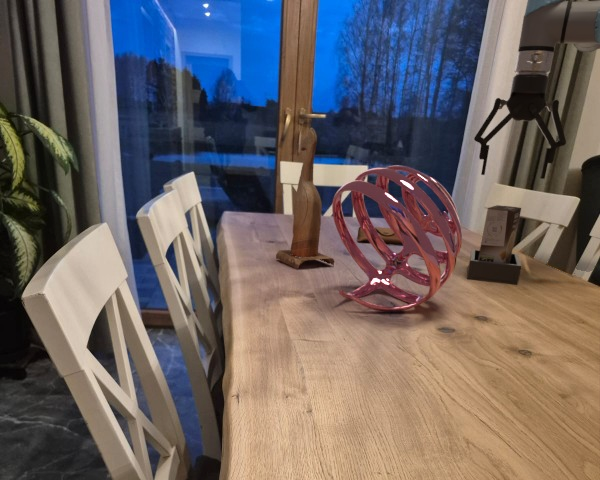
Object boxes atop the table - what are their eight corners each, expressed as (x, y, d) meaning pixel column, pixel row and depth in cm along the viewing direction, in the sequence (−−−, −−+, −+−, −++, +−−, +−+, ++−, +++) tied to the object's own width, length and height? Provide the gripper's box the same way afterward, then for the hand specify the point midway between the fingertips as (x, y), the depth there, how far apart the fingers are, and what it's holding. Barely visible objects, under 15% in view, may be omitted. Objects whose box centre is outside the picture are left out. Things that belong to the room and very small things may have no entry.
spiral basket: (330, 217, 94) (445, 120, 98) (273, 229, 119) (367, 151, 124) (414, 346, 105) (514, 254, 109) (345, 332, 130) (429, 258, 135)
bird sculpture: (309, 257, 156) (316, 127, 142) (335, 266, 148) (345, 129, 134) (274, 260, 151) (278, 125, 136) (299, 270, 142) (306, 127, 128)
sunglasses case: (357, 240, 178) (358, 220, 178) (356, 248, 185) (357, 228, 185) (415, 245, 176) (417, 224, 177) (412, 252, 183) (414, 232, 184)
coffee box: (500, 278, 143) (514, 210, 136) (474, 273, 145) (486, 207, 138) (508, 271, 150) (522, 207, 143) (484, 267, 153) (496, 204, 146)
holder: (514, 271, 153) (518, 253, 151) (517, 284, 140) (521, 265, 138) (468, 266, 156) (471, 249, 154) (466, 278, 143) (470, 260, 141)
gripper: (473, 72, 128) (458, 174, 137) (594, 74, 122) (570, 181, 131) (474, 74, 134) (459, 172, 143) (589, 77, 128) (565, 178, 138)
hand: (512, 176), depth 137 cm, fingers open, 13 cm apart
